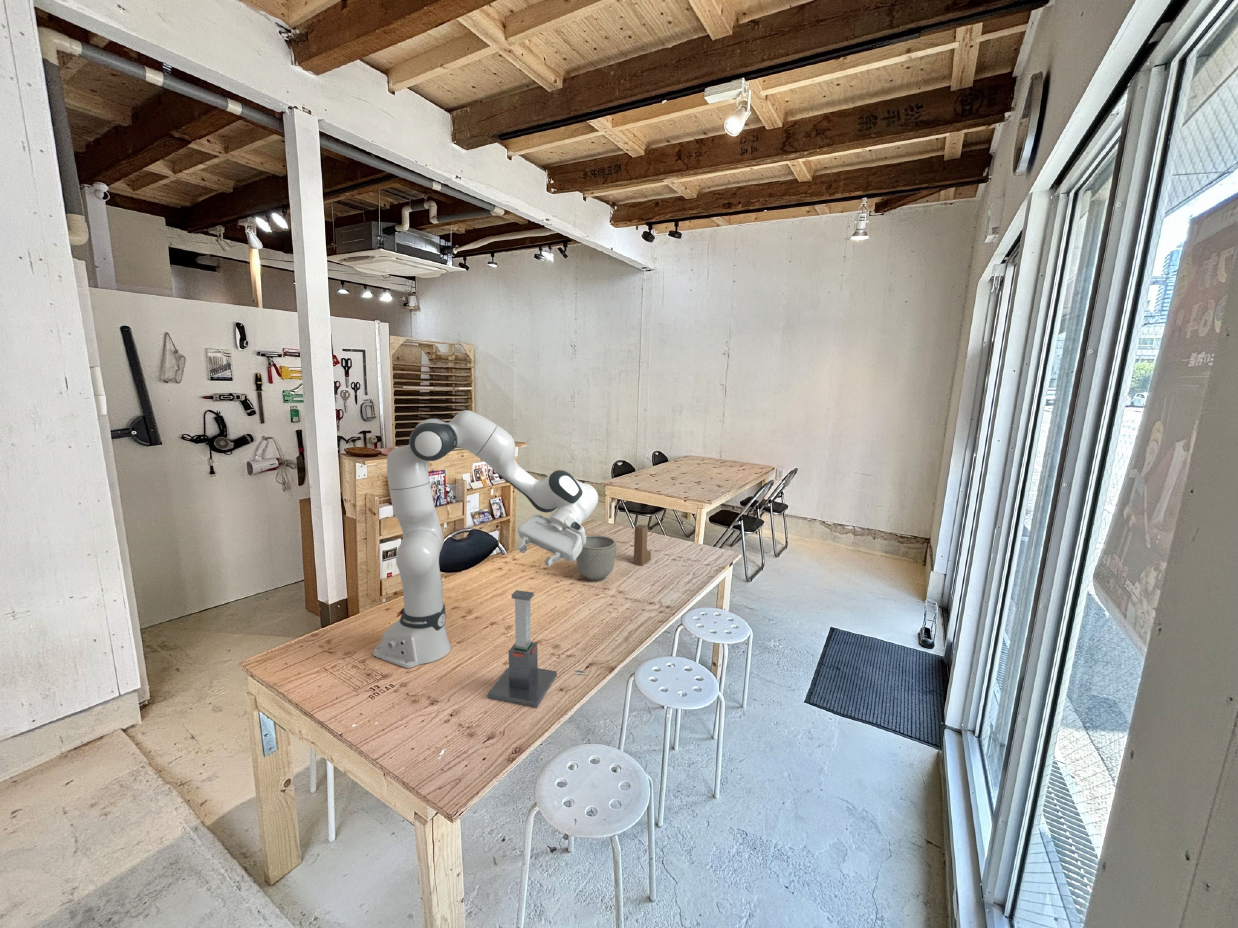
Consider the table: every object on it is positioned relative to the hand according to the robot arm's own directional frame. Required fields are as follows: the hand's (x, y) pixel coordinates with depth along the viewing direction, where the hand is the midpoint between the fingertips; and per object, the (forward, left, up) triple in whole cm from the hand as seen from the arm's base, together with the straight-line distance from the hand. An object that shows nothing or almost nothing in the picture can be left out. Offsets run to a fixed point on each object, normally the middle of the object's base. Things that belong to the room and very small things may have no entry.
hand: (533, 557), depth 140 cm
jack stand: (+1, -11, -33) cm, 35 cm away
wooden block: (+15, +89, -34) cm, 97 cm away
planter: (-1, +66, -34) cm, 75 cm away
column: (+1, -11, -26) cm, 28 cm away
